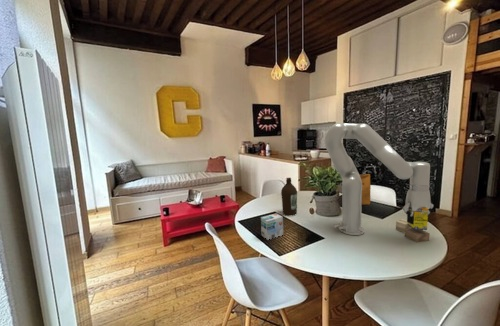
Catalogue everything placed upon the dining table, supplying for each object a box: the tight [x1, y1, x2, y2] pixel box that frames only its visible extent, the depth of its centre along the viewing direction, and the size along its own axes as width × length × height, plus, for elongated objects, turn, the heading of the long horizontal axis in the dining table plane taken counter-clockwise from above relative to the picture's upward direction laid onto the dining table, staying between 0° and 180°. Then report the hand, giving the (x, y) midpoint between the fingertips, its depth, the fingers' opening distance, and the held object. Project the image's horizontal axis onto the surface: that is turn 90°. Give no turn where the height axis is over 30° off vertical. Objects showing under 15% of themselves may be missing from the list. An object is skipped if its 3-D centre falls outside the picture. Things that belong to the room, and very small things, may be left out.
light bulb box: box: [260, 213, 284, 241], centre depth 122 cm, size 11×7×11 cm, turn 117°
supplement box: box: [408, 208, 429, 231], centre depth 110 cm, size 6×6×11 cm
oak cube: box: [395, 218, 411, 234], centre depth 120 cm, size 5×5×5 cm
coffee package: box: [359, 173, 372, 206], centre depth 165 cm, size 10×12×22 cm
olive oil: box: [280, 177, 298, 216], centre depth 152 cm, size 11×11×25 cm
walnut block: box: [404, 228, 431, 243], centre depth 111 cm, size 7×7×4 cm
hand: (417, 221), depth 110 cm, fingers closed on supplement box, 7 cm apart
